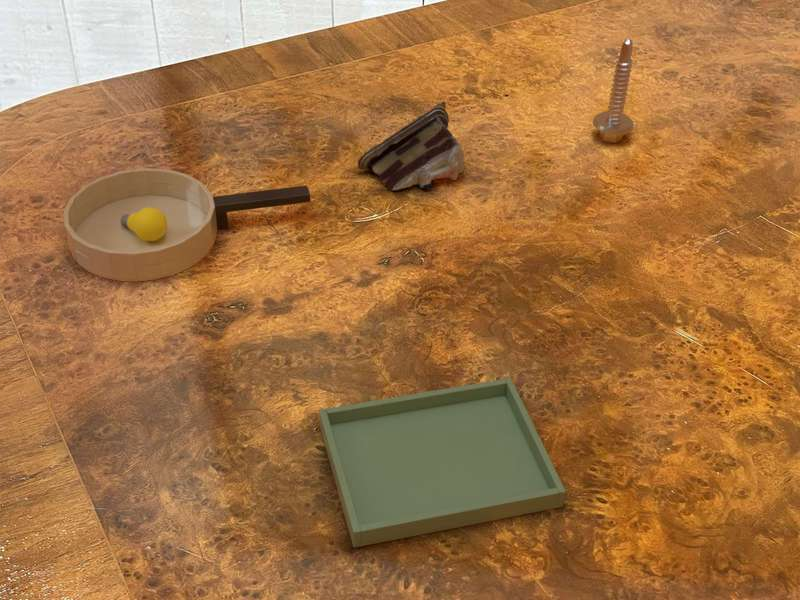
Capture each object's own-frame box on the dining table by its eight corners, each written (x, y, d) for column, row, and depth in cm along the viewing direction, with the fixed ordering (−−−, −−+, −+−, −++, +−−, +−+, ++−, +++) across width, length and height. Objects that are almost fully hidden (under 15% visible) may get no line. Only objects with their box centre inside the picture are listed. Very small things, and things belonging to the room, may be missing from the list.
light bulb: (161, 250, 109) (143, 226, 106) (122, 243, 112) (103, 220, 110) (179, 226, 110) (162, 202, 108) (140, 220, 114) (122, 196, 111)
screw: (621, 125, 131) (637, 145, 127) (584, 129, 130) (599, 149, 127) (640, 27, 123) (657, 46, 119) (600, 30, 122) (616, 49, 118)
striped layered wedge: (381, 208, 117) (462, 134, 113) (350, 163, 120) (428, 89, 116) (422, 228, 125) (499, 159, 121) (392, 185, 128) (466, 116, 124)
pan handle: (217, 231, 112) (214, 206, 110) (215, 222, 113) (212, 196, 111) (311, 219, 114) (310, 194, 112) (307, 210, 115) (307, 184, 113)
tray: (353, 548, 82) (353, 532, 80) (319, 424, 91) (318, 409, 90) (563, 506, 85) (566, 491, 84) (508, 392, 95) (511, 377, 94)
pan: (71, 291, 104) (65, 262, 102) (67, 204, 115) (62, 177, 113) (225, 270, 107) (223, 242, 105) (207, 187, 118) (204, 161, 116)
